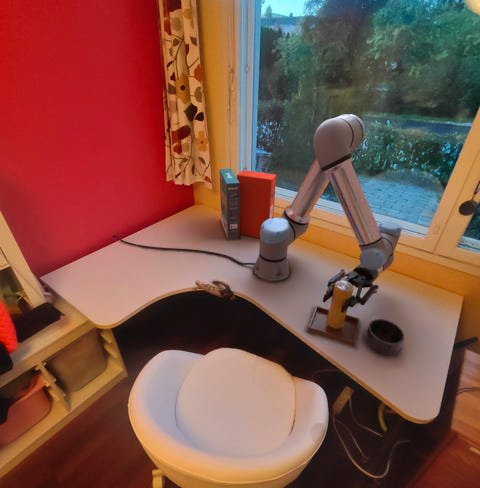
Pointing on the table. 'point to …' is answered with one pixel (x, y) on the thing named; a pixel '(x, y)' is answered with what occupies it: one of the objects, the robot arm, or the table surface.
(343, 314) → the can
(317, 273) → the table surface
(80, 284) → the table surface
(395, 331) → the bowl
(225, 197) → the cake mix box
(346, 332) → the tray
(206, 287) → the bone fish hook
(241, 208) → the file binder
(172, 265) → the table surface
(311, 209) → the robot arm
